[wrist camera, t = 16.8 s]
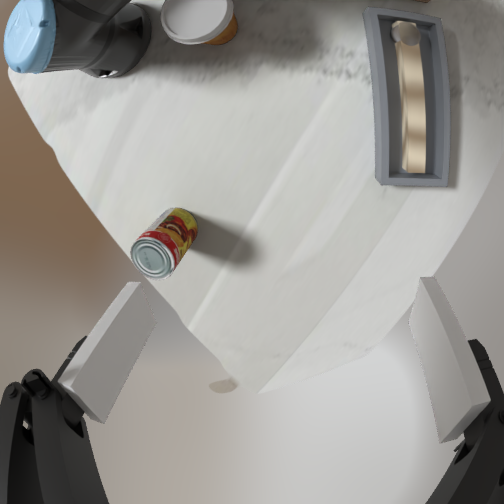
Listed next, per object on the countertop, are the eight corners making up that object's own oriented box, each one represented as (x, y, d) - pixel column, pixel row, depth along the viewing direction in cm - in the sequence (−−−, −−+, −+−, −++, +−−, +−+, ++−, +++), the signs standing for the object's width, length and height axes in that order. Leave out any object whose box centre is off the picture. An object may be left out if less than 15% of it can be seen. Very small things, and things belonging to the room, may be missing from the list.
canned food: (182, 252, 57) (159, 288, 47) (153, 226, 55) (123, 258, 45) (206, 226, 54) (183, 261, 43) (174, 199, 52) (143, 227, 42)
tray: (437, 179, 42) (447, 186, 38) (375, 177, 44) (381, 185, 41) (430, 22, 28) (440, 18, 25) (362, 13, 30) (367, 6, 27)
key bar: (420, 168, 41) (427, 173, 38) (399, 167, 42) (405, 172, 39) (411, 27, 29) (418, 23, 26) (388, 24, 30) (394, 20, 27)
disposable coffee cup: (247, 0, 32) (230, -27, 22) (249, 51, 37) (232, 37, 27) (188, 8, 34) (157, -12, 23) (190, 57, 38) (157, 49, 28)
